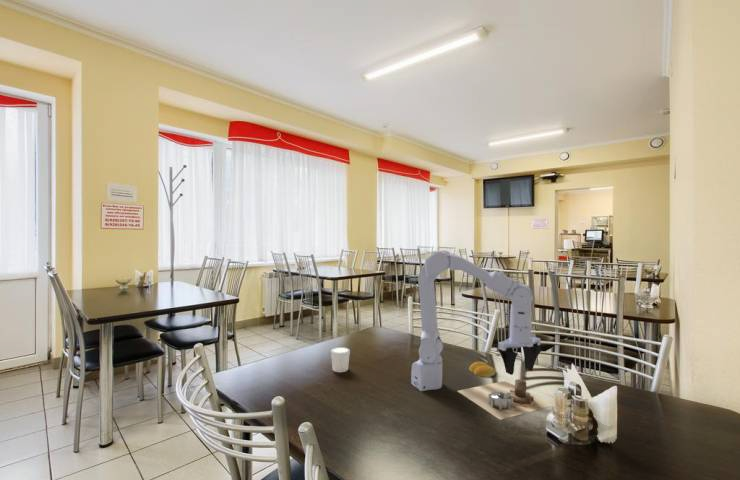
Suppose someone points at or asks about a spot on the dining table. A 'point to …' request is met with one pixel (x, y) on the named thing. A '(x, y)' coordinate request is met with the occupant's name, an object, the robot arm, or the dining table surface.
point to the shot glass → (340, 359)
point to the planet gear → (521, 393)
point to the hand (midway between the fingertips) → (519, 371)
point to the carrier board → (482, 392)
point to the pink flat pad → (524, 404)
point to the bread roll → (482, 369)
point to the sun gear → (500, 400)
